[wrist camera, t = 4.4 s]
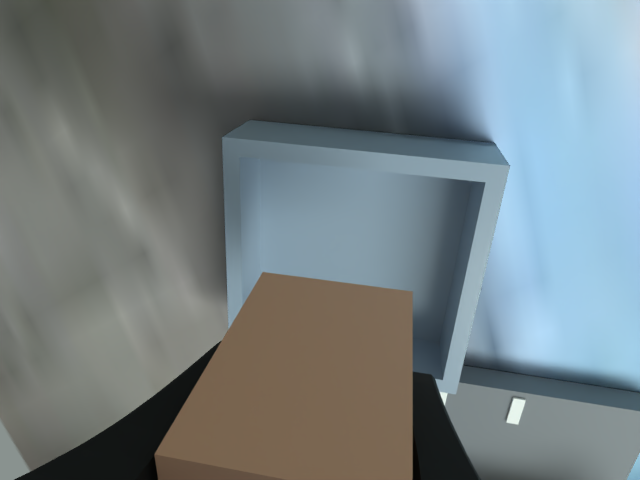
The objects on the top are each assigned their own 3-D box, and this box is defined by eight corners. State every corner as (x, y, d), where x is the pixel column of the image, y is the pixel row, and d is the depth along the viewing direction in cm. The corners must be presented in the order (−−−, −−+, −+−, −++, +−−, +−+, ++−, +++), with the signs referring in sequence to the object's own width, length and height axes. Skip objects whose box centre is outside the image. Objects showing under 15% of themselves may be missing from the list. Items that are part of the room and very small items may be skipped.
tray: (251, 316, 22) (229, 357, 20) (249, 120, 18) (222, 137, 16) (450, 347, 21) (456, 394, 18) (494, 142, 17) (509, 165, 14)
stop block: (263, 386, 14) (175, 601, 9) (262, 271, 13) (154, 453, 7) (394, 407, 14) (384, 650, 9) (412, 291, 12) (412, 503, 7)
